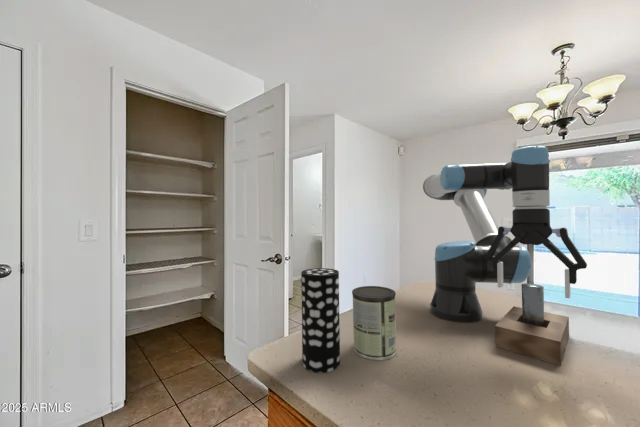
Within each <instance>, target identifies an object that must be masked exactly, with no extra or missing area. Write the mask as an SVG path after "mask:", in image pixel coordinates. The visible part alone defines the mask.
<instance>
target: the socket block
mask: <svg viewBox="0 0 640 427" xmlns="http://www.w3.org/2000/svg"><path fill="white" fill-rule="evenodd" d="M569 318H570V316H565V315H562V314H556V313H551V312H547V311H544V327H540V326H536V325H531V324H527V323H522V307H519V306H515V305H514V306H512V308H511V309H509V310H508V311H507V312H506V314H505V315H504V316H503V317H501V319H500V320H499V321H498V322H497V323H496V324H495V325H494V342H495V347H496V348H499V349H503V350H506V351H510V352H513V353H517V354H521V355H524V356H528V357H531V358H534V359H538V360H541V361H545V362H548V363H550V364H555V365H558V366H562V365H563V364H562V363H563V360H564V357H565V352H566V349H567V345H568V341H569V337H570V319H569Z"/></svg>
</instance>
